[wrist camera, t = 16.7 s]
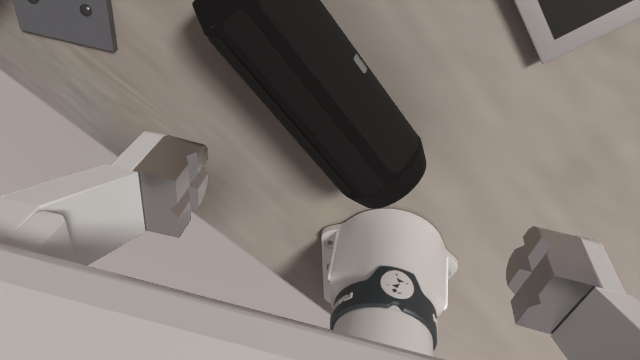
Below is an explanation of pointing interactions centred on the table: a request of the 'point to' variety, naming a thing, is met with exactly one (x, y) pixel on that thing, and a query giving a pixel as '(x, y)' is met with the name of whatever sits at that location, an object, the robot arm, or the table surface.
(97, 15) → the hinge body
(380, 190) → the portable speaker
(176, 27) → the table surface
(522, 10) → the picture frame
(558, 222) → the table surface
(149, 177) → the robot arm
